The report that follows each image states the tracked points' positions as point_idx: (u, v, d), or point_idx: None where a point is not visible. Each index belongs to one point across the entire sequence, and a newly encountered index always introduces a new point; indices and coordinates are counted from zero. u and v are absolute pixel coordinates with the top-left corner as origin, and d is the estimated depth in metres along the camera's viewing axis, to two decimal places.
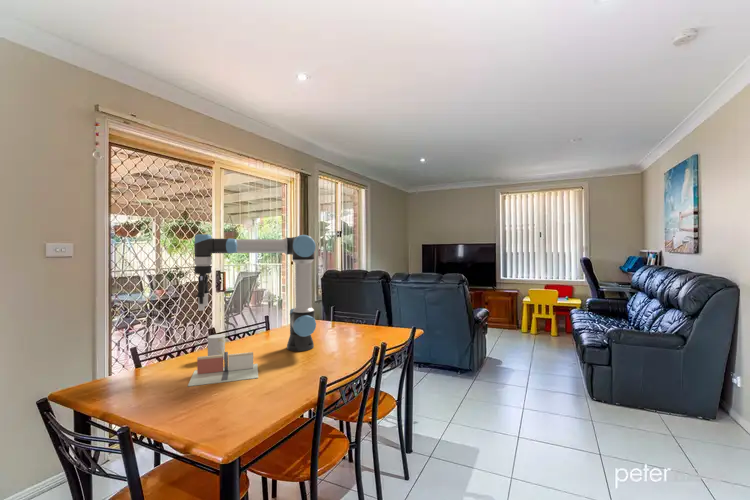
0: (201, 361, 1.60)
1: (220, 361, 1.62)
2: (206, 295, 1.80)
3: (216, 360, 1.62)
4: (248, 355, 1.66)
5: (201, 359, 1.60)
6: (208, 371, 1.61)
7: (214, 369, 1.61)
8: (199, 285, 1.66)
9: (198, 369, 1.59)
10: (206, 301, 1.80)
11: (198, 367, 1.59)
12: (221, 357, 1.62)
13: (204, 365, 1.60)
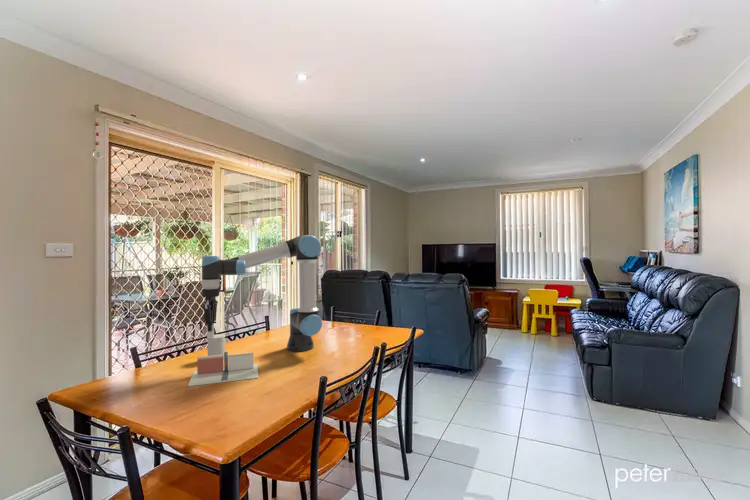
0: (201, 361, 1.60)
1: (220, 361, 1.62)
2: None
3: (216, 360, 1.62)
4: (248, 355, 1.66)
5: (201, 359, 1.60)
6: (208, 371, 1.61)
7: (214, 369, 1.61)
8: (205, 314, 1.62)
9: (198, 369, 1.59)
10: None
11: (198, 367, 1.59)
12: (221, 357, 1.62)
13: (204, 365, 1.60)
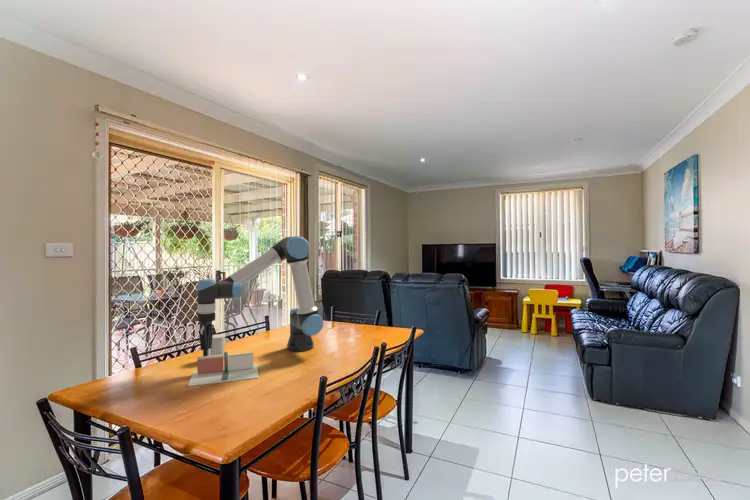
0: (201, 361, 1.60)
1: (220, 361, 1.62)
2: None
3: (216, 360, 1.62)
4: (248, 355, 1.66)
5: (201, 359, 1.60)
6: (208, 371, 1.61)
7: (214, 369, 1.61)
8: (201, 339, 1.59)
9: (198, 369, 1.59)
10: None
11: (198, 367, 1.59)
12: (221, 357, 1.62)
13: (204, 365, 1.60)
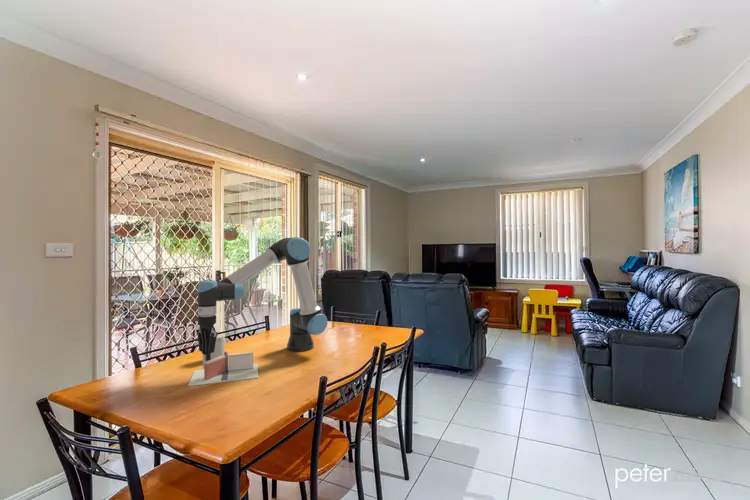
0: (210, 365, 1.54)
1: (223, 362, 1.61)
2: None
3: (220, 361, 1.60)
4: (248, 355, 1.66)
5: (210, 363, 1.54)
6: (215, 374, 1.57)
7: (219, 371, 1.59)
8: (211, 343, 1.53)
9: (207, 374, 1.53)
10: None
11: (207, 372, 1.53)
12: (224, 357, 1.62)
13: (212, 369, 1.55)
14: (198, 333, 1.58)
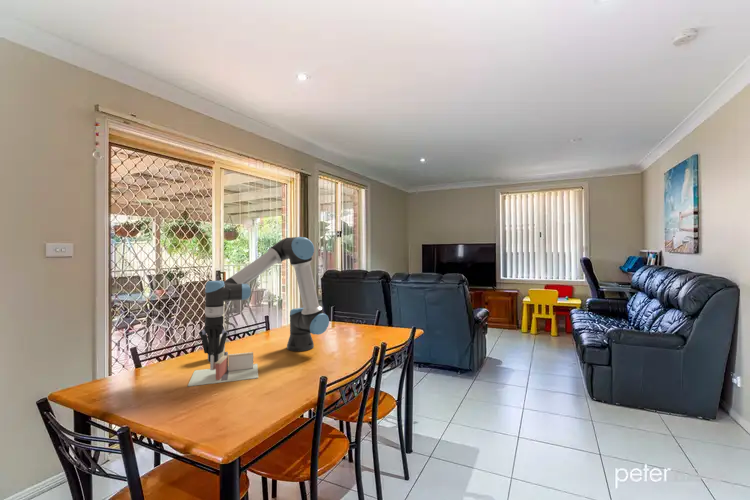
0: (220, 365, 1.54)
1: (226, 361, 1.62)
2: None
3: (225, 361, 1.60)
4: (248, 355, 1.66)
5: (220, 363, 1.54)
6: (222, 374, 1.57)
7: (224, 371, 1.59)
8: (223, 342, 1.54)
9: (219, 374, 1.52)
10: None
11: (219, 372, 1.52)
12: (226, 357, 1.62)
13: (221, 369, 1.55)
14: (202, 335, 1.54)
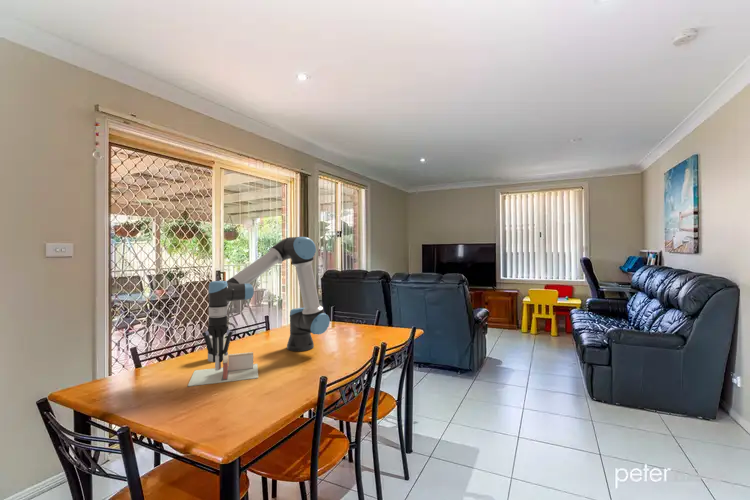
0: None
1: None
2: None
3: (227, 361, 1.60)
4: (248, 355, 1.66)
5: (227, 362, 1.54)
6: None
7: (227, 370, 1.59)
8: (228, 342, 1.54)
9: (226, 373, 1.53)
10: None
11: (226, 371, 1.53)
12: (227, 357, 1.62)
13: None
14: (206, 336, 1.53)
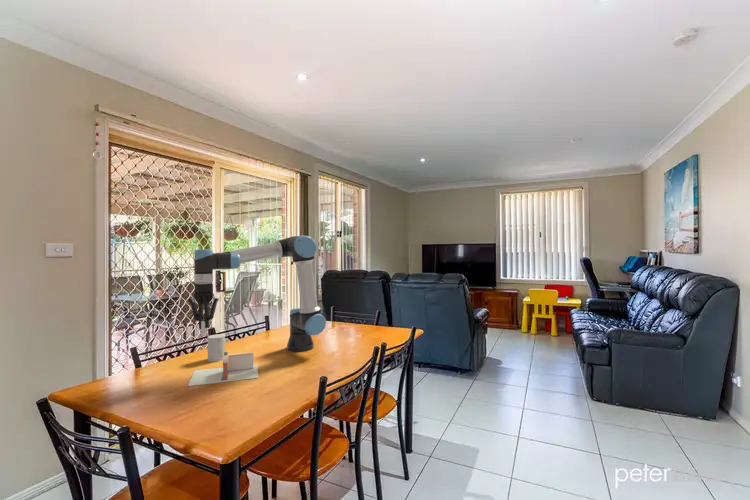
0: None
1: None
2: None
3: (227, 361, 1.60)
4: (248, 355, 1.66)
5: (227, 362, 1.54)
6: None
7: (227, 370, 1.59)
8: (214, 308, 1.59)
9: (226, 373, 1.53)
10: None
11: (226, 371, 1.53)
12: (227, 357, 1.62)
13: None
14: (192, 302, 1.57)
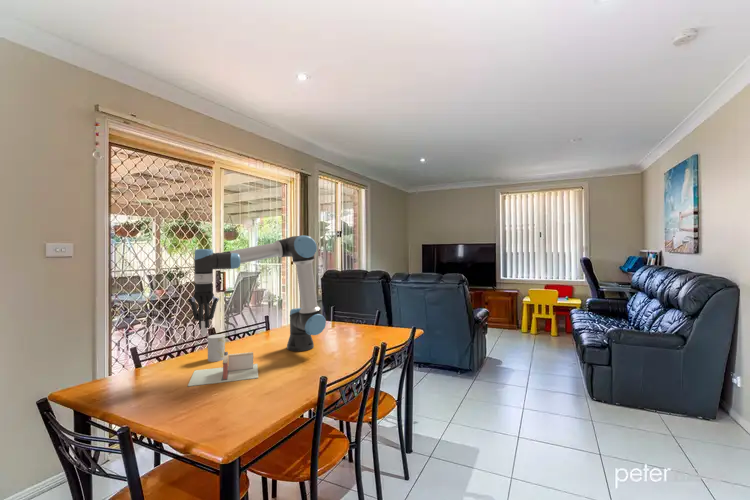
0: None
1: None
2: None
3: (227, 361, 1.60)
4: (248, 355, 1.66)
5: (227, 362, 1.54)
6: None
7: (227, 370, 1.59)
8: (214, 308, 1.59)
9: (226, 373, 1.53)
10: None
11: (226, 371, 1.53)
12: (227, 357, 1.62)
13: None
14: (192, 302, 1.57)
